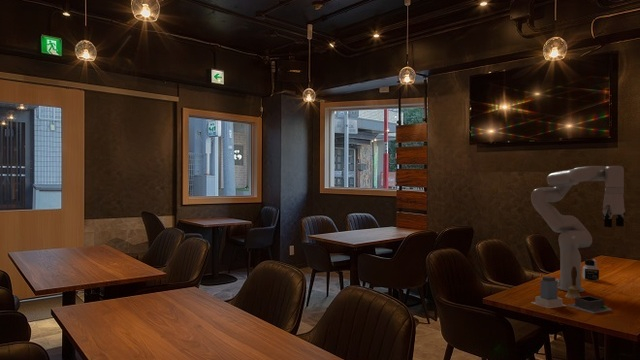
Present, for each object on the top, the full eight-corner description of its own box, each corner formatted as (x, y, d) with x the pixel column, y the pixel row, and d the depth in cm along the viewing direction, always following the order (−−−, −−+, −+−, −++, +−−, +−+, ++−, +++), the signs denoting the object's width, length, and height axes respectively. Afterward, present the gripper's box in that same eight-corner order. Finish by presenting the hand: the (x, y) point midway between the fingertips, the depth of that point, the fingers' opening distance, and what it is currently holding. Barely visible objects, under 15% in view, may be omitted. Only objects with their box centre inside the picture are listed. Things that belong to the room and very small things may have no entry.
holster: (530, 304, 202) (530, 296, 202) (548, 301, 207) (548, 293, 207) (549, 310, 193) (549, 301, 193) (567, 307, 197) (567, 299, 197)
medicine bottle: (584, 280, 251) (584, 259, 251) (582, 277, 258) (582, 257, 258) (599, 281, 249) (599, 260, 249) (596, 278, 255) (596, 258, 255)
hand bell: (586, 299, 211) (586, 267, 211) (578, 302, 206) (578, 269, 206) (569, 295, 217) (569, 264, 218) (560, 298, 213) (560, 266, 213)
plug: (540, 303, 200) (540, 276, 200) (549, 302, 203) (549, 275, 203) (547, 305, 197) (548, 278, 197) (557, 304, 199) (557, 277, 199)
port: (567, 307, 197) (567, 296, 197) (585, 304, 201) (585, 294, 201) (593, 315, 186) (593, 303, 186) (611, 312, 190) (611, 300, 190)
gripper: (616, 191, 214) (616, 225, 214) (595, 191, 207) (595, 226, 207) (632, 191, 208) (632, 226, 208) (612, 191, 200) (611, 228, 200)
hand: (614, 226), depth 207 cm, fingers open, 9 cm apart
